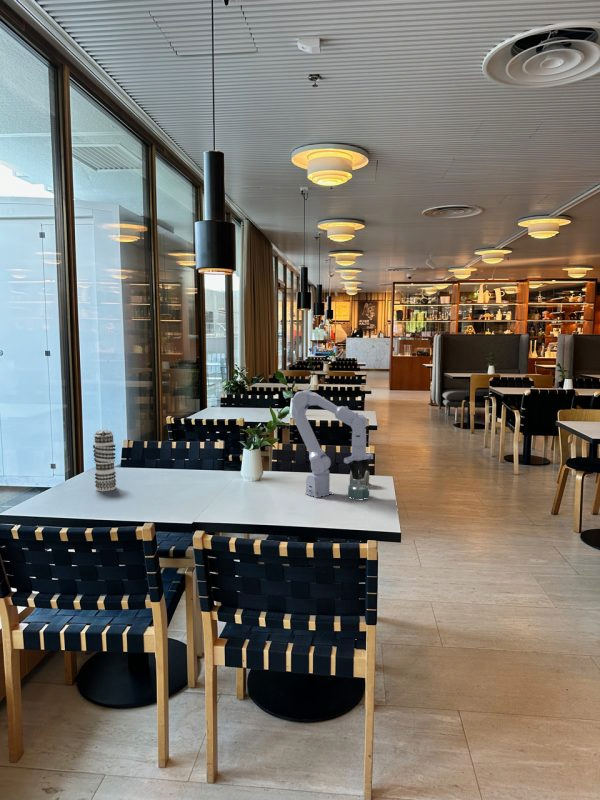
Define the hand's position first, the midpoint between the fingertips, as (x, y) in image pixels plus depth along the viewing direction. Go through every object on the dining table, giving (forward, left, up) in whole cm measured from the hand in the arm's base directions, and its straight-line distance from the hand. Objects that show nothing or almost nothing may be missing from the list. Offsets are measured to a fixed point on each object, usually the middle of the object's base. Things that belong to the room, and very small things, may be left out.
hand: (358, 478), depth 226 cm
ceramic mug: (+14, +13, -8) cm, 21 cm away
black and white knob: (0, 0, -4) cm, 4 cm away
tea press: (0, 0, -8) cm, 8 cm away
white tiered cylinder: (-77, +76, -8) cm, 108 cm away
